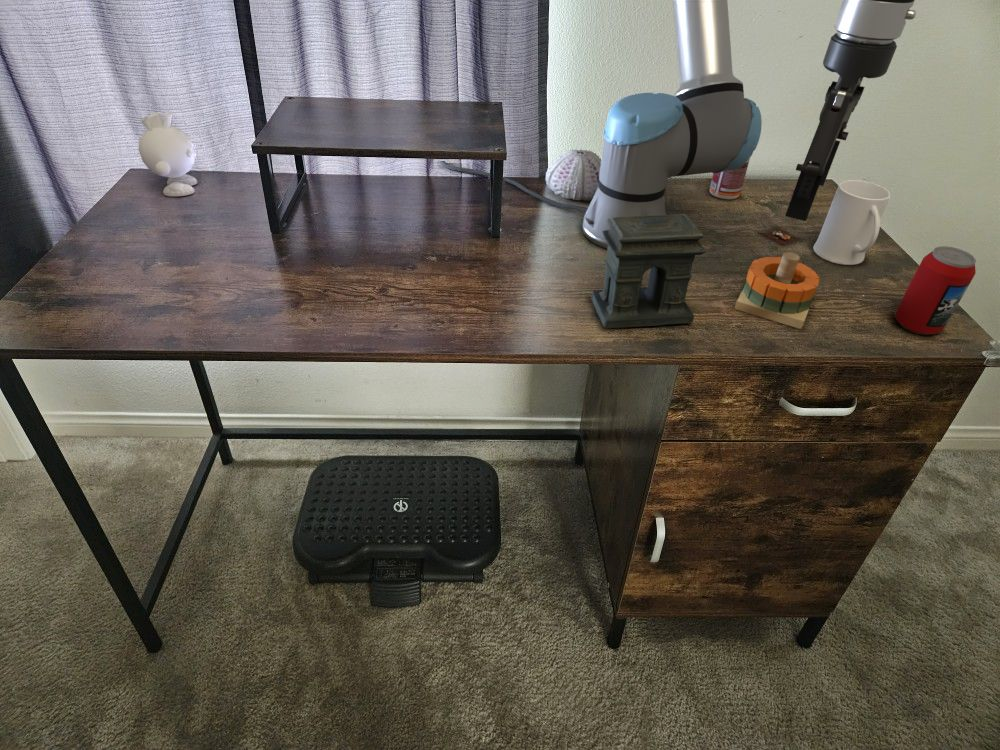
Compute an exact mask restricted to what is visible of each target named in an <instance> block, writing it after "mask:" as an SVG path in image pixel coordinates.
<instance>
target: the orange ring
mask: <svg viewBox="0 0 1000 750" xmlns="http://www.w3.org/2000/svg"><path fill="white" fill-rule="evenodd" d="M781 259H782V256H764V257H761V258H758V259H755V260H753V261H752V262H751V263H750V266H749V268H748V271H747V274H746V277H745V278H746V279H745V281H746V280H747V282H748V283H749V285H750V287H752V289H753V290H755V291H756V292H758V293H759V294H761V295H763V296H765V295H766V297H768V298H771V299H774V300H778V301H782V300H783V301H784V302H799V301H800V302H803V301H806V300H809V299H811V298H812V297H813V296H814V297H815V295H816V293H815V291H816V292H817V289H818V286H819V284H820V281H821V279H820V277H819V275H818V274H817V273H816V271H815V270H813V269H812V268H811V267H809V266H807V265H806V264H804V263H802V262H798V264H797V267H796V270H795V273H794V275H793V278H792V279H793V280H795V281H797V282H798V283H799V284H785V283H781V282H778V281H775V280H773V279H771V278H770V277H768V276H766V275H768V274H776V273H777V270H778V267H779V264H780V262H781ZM814 294H815V295H814Z"/></svg>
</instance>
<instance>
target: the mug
mask: <svg viewBox="0 0 1000 750" xmlns="http://www.w3.org/2000/svg"><path fill="white" fill-rule="evenodd" d="M891 195H892V194H891V192H890V191H889V190H888V189H887V188H886V187H884V186H882V185H879V184H877V183H875V182H871V181H867V180H866V181H865V180H860V179H846V180H842V181H840V182H839V183H838V186H837V188H836V191H835V193H834V196H833V198H832V201H831V204H830V206H829V210H828V212H827V214H826V217H825V219H824V222H823V225H822V227H821V229H820V232H819V234H818V237H817V239H816V241H815V243H814V244H813V247H812V249H813V252H814V253H815V254H816V255H817V256H818V257H820V258H821V259H823V260H825V261H828V262H829V263H830V262H831V263H833V264H837V265H843V266H855V265H859V264H861V263H863V262H864V260H865V258H866V253H867V252H868V251H869V250H870V249H871V248H873V246H874V245H875V243H876V241H877V239H878V237H879V234H880V230H881V229H880V228H881V218H882V216H883V215H884V212H885V210H886V207H887V205H888V203H889V200H890V199H891Z"/></svg>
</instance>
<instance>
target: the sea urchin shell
mask: <svg viewBox="0 0 1000 750" xmlns="http://www.w3.org/2000/svg"><path fill="white" fill-rule="evenodd" d="M601 159H602V158H601V157H600V155H597V153H595V152H593V151H592V150H589V149H570V150H568V151H565V152H563V153H561V154H560V155H558V157H557V158H555V160H553V162H552V163H551V164H550V165H549V167H547V171H546V172H545V182H546V186H547V187H548V189H549V190H551V192H552V191H553V192H554V194H555V195H558V196H559V197H563V199H566V200H569V199H570V200H571V199H572V200H573V201H581V200H584V201H592V199H593V197H594V195H595V193H596V191H597V188H598V182H599V174H600V167H601Z"/></svg>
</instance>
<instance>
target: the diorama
mask: <svg viewBox="0 0 1000 750" xmlns="http://www.w3.org/2000/svg"><path fill="white" fill-rule="evenodd" d="M761 235H762V236H764V237H766V238H768V239H770V240H772V241H774V242H775V243H777V244H779V245H781V246H786V245H789V244H791V243H794V242H797V241H799V240H800V239H799V238H797V237H795V236H793V235H791V234H789V233H787V232H785V231H784V230H781V227H777V228H775V229H772V230H769V231H766V232H763V233H761Z"/></svg>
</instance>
